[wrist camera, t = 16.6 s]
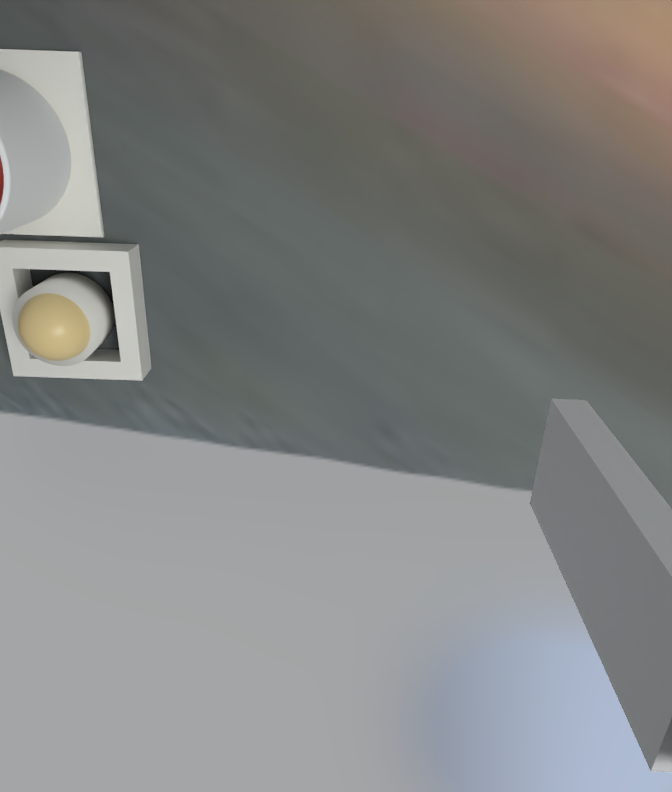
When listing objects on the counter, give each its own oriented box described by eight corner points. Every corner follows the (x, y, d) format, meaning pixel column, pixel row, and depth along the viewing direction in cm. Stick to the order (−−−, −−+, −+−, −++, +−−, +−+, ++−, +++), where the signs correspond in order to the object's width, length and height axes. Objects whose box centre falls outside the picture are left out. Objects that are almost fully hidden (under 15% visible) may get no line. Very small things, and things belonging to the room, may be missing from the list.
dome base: (4, 239, 47) (-13, 246, 45) (138, 244, 47) (128, 251, 45) (28, 363, 51) (13, 376, 49) (151, 368, 51) (142, 380, 49)
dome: (28, 271, 47) (-12, 293, 42) (109, 273, 47) (79, 296, 42) (42, 346, 49) (6, 376, 44) (118, 349, 49) (92, 379, 44)
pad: (-101, 45, 42) (-105, 45, 41) (81, 52, 42) (79, 51, 41) (-58, 230, 47) (-61, 231, 47) (104, 236, 47) (102, 237, 47)
